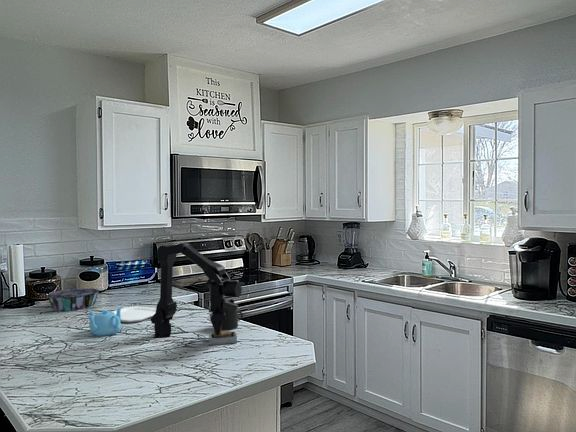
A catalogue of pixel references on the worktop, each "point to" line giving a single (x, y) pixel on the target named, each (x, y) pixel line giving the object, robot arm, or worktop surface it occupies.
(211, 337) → the grey rectangular tray
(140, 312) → the plate
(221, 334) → the tan toy chair
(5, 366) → the worktop surface
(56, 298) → the decorative bowl
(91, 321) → the teapot
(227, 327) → the mug
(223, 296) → the robot arm
